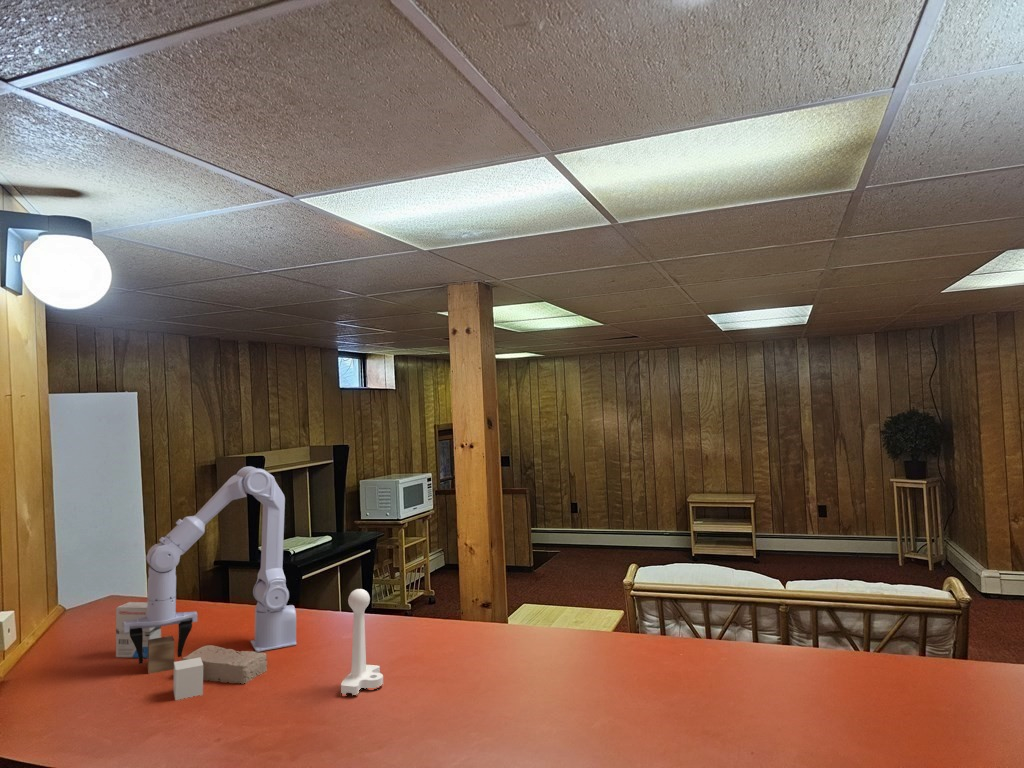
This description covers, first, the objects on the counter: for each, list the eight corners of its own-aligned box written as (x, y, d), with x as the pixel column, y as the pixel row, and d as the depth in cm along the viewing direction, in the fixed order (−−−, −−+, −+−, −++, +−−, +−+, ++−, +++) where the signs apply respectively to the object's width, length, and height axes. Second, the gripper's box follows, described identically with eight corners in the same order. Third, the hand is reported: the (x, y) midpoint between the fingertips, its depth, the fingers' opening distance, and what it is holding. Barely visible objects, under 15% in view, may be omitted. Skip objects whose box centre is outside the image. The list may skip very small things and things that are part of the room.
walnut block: (172, 662, 151) (172, 635, 151) (173, 669, 147) (174, 642, 147) (147, 666, 148) (147, 639, 149) (148, 674, 144) (148, 646, 144)
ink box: (162, 651, 158) (162, 601, 158) (148, 658, 153) (149, 607, 153) (128, 650, 159) (129, 600, 159) (114, 657, 154) (115, 606, 154)
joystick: (361, 674, 143) (361, 581, 144) (393, 677, 142) (393, 583, 142) (335, 695, 133) (336, 595, 133) (370, 699, 131) (370, 598, 132)
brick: (269, 671, 146) (269, 649, 146) (244, 686, 138) (245, 663, 138) (205, 664, 150) (206, 644, 150) (178, 679, 142) (179, 657, 142)
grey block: (200, 686, 138) (200, 657, 138) (202, 695, 133) (203, 665, 134) (173, 691, 135) (173, 662, 135) (175, 700, 131) (175, 670, 131)
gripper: (195, 588, 155) (194, 647, 155) (124, 598, 148) (122, 659, 147) (198, 596, 149) (197, 656, 149) (124, 605, 142) (123, 669, 141)
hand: (160, 658), depth 148 cm, fingers open, 7 cm apart
